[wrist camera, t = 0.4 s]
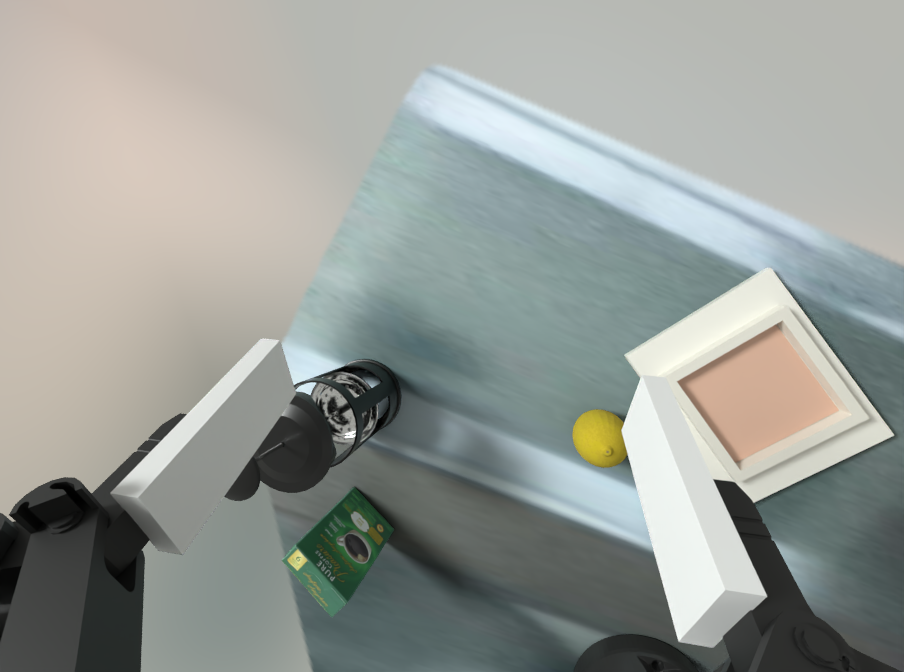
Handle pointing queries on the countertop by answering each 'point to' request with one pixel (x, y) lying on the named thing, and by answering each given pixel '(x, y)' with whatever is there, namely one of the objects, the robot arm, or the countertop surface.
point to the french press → (319, 429)
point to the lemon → (600, 438)
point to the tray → (761, 388)
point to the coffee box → (339, 551)
